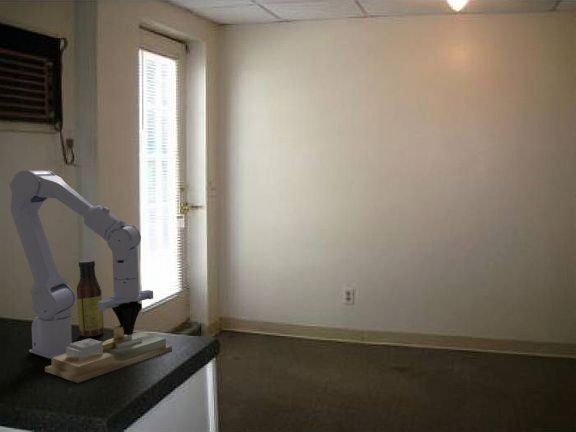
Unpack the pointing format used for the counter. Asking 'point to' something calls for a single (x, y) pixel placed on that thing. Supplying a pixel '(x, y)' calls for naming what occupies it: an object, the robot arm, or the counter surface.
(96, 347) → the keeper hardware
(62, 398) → the counter surface
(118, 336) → the bolt
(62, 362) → the door and jamb
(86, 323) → the sauce bottle
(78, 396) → the counter surface
